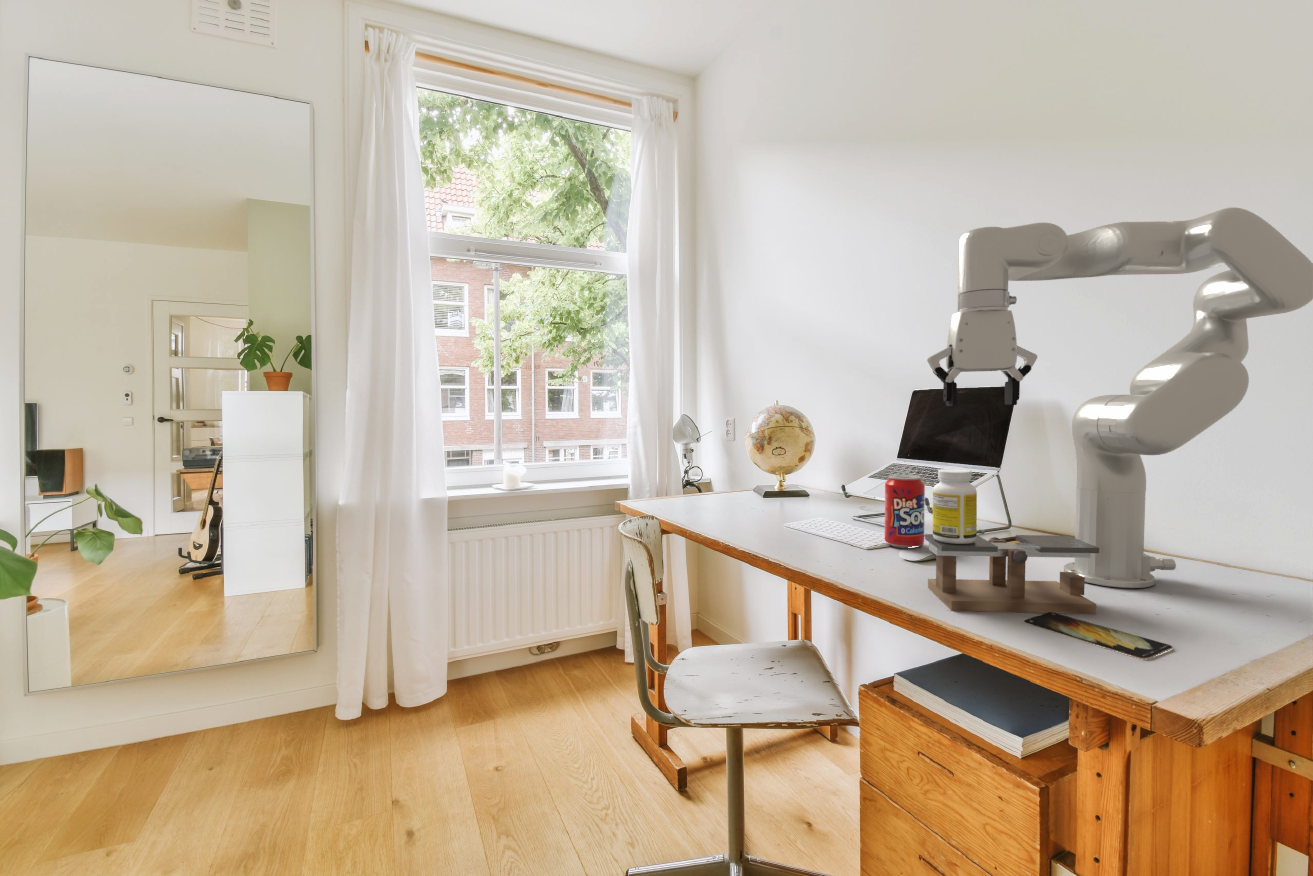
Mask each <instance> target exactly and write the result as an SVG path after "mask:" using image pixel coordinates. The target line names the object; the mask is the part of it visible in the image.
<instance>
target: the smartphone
mask: <svg viewBox="0 0 1313 876" xmlns="http://www.w3.org/2000/svg"><path fill="white" fill-rule="evenodd" d="M1023 623H1025V624H1028V625H1031V626H1033V627H1036V628H1037V627H1038V628H1041V629H1043V630H1046V631H1050V632H1052V633H1057V634H1059V635H1062V636H1065V637H1067V638H1068V637H1069V638H1072V639H1073V640H1077V641H1081V642H1083V643H1087V642H1088V643H1087V644H1090V643H1091V644H1090V645H1093V644H1095V645H1094V646H1096V645H1099V646H1101V647H1100V648H1102V647H1105V648H1104V649H1106V648H1108V649H1107V650H1109V649H1111V650H1110V651H1112V650H1114V651H1113V652H1115V651H1118V652H1121V653H1124V654H1127V655H1126V656H1128V655H1131V656H1133V657H1132V658H1134V657H1136V658H1135V659H1137V658H1139V659H1138V660H1140V659H1143V660H1142V661H1146V660H1145V659H1150V660H1152V659H1151V658H1153V657H1154V656H1156V655H1158V654H1161V653H1163V652H1165V651H1168V650H1170V649H1172V648H1174V647H1173V646H1172V645H1170V644H1169V643H1165V642H1164V643H1163V642H1160V641H1157V640H1153V639H1150V638H1146V637H1143V636H1140V635H1136V634H1133V633H1129V632H1124V631H1121V630H1118V629H1114V628H1110V627H1108V626H1107V627H1106V626H1103V625H1099V624H1096V623H1092V622H1089V621H1086V620H1082V619H1079V618H1075V617H1071V616H1067V615H1065V614H1062V613H1052V612H1049V613H1043V614H1039V615H1035V616H1033V617H1029V618H1027V619H1024V620H1023ZM1099 646H1098V647H1099ZM1118 652H1117V653H1118ZM1121 653H1120V654H1121ZM1124 654H1123V655H1124ZM1131 656H1130V657H1131ZM1153 659H1154V658H1153Z"/></svg>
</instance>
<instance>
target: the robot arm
mask: <svg viewBox="0 0 1313 876" xmlns="http://www.w3.org/2000/svg"><path fill="white" fill-rule="evenodd" d="M957 264H958V265H957V267H958V270H957V271H958V273H957V277H958V278H957V312H956V313H953V314H952V315H951V318H950V323H949V329H948V336H947V345H946V348H944V349H942V350H941V351H939V352H936V353H934V354H933V355H930V356H929V357H927V359H926V360H927V361H926V362H927V363H928V365H929V367H930V368H931V369H932V373H933V374H934V375H935V376H936V377H937V378H938V379H939V380H940V382H941V383H943V387H942V388H943V391H942V393H943V396H942V397H943V402H945V406H947V407H955V406H957V404H958V402H957V401H958V400H957V399H958V398H957V391H958V388H957V387H958V383H956V382H955V379H956V378H957V377H958V376H959V374H960V373H963V372H965V373H967V372H972V373H973V372H975V373H976V372H996V371H997V372H998V371H1000V372H1001V373H1002V375H1004V376H1005V377H1006V379H1007V381H1005V383H1004V405H1005V406H1017V404H1018V401H1019V399H1020V393H1021V392H1020V391H1021V390H1020V389H1021V387H1020V385H1021V382H1022V381H1023V380H1024V378H1025V377H1026V376H1027V375H1028V374H1029V373H1030V372H1031V371H1032V368H1033V367H1034V365H1035V363H1036V361H1037V359H1038V355H1037V354H1036V353H1034V352H1032V351H1029V350H1028V349H1026V348H1023V347H1021V346H1019V345H1018V342H1017V332H1016V325H1015V320H1014V315H1013V312H1012V310H1009V309H1008V308H1009V307H1010V306H1011V305H1016V304H1017V299H1018V298H1017V296H1014V295H1013V296H1012V295H1010V291H1009V282H1010V281H1011V282H1028V281H1029V282H1031V281H1035V282H1036V281H1037V282H1039V281H1053V280H1065V279H1067V280H1068V279H1083V278H1084V279H1085V278H1096V277H1098V278H1099V277H1106V276H1126V275H1127V276H1133V275H1138V276H1140V275H1181V274H1182V275H1183V274H1190V273H1196V272H1201V271H1204V270H1209V269H1212V268H1216V267H1220V266H1227V267H1228V268H1229V270H1225V271H1221V272H1218V273H1216V274H1215V275H1213V276H1211V277H1209V278H1207V279H1206V280H1205V281H1204V282H1202V283H1201V284H1200V285H1199V287H1198V288H1197V290H1196V292H1195V294H1194V296H1193V297H1194V298H1193V301H1192V303H1193V304H1192V305H1193V306H1192V307H1193V322H1192V323H1193V324H1192V327H1191V330H1190V331H1189V333H1188V334H1187V335H1186V336H1184V337H1183V338H1182V339H1181V340H1179V341H1178V342H1177V343H1175V344H1174V345H1173V346H1171V347H1169V348H1168V349H1167V350H1165V351H1163V353H1161V354H1160V355H1159V356H1157V357H1156V358H1154V359H1153V360H1152V361H1150V362H1149V363H1147V364H1146V365H1144V366H1142V368H1141V369H1140V370H1138V372H1137V373H1136V374H1135V375H1134V376H1133V378H1132V380H1131V381H1130V385H1129V394H1106V395H1099V396H1096V397H1093V398H1089V399H1088V400H1086V401H1084V402H1083V403H1082V404H1081V405H1080V406H1078V408H1077V409H1076V410H1075V412H1074V414H1073V417H1072V421H1071V431H1072V432H1071V433H1072V438H1073V439H1072V440H1073V444H1074V451H1075V454H1076V456H1075V457H1076V491H1075V492H1076V494H1075V496H1076V499H1075V527H1074V529H1075V531H1074V538H1076V539H1079V540H1081V541H1083V542H1086V543H1088V544H1091V545H1093V546H1096V547H1098V548H1099V553H1091V558H1074V562H1073V561H1072V562H1068V563H1066V564H1064V566H1063V572H1075V573H1077V574H1079V575H1080V576H1082V577H1084V578H1085V583H1088V584H1093V585H1098V586H1103V587H1111V588H1119V589H1121V588H1122V589H1145V588H1149V587H1152V586H1154V585H1155V583H1156V581H1155V580H1156V579H1155V575H1153V574H1151V572H1153V573H1154V572H1155V571H1156V570H1161V571H1175V570H1176V567H1177V563H1176V561H1175V560H1174V559H1173V558H1157V557H1156V556H1151V555H1148V554H1146V553H1144V550H1145V549H1144V548H1145V520H1146V518H1145V517H1146V491H1147V473H1146V469H1145V465H1144V461H1143V459H1142V457H1141V455H1142V456H1161V455H1165V454H1168V453H1172V452H1174V451H1175V450H1177V449H1179V448H1181V447H1182V446H1184V445H1186V444H1187V443H1189V442H1190V441H1191V440H1193V439H1194V438H1195V437H1197V436H1198V435H1200V434H1202V433H1203V432H1205V430H1208V428H1210V427H1211V426H1213V425H1214V424H1216V423H1217V422H1218V421H1220V420H1222V419H1223V418H1224V417H1226V416H1227V415H1228V414H1230V412H1231V413H1232V411H1233V410H1234V409H1236V408H1237V406H1239V405H1240V403H1242V402H1241V401H1242V400H1243V399H1244V397H1245V396H1246V394H1247V391H1248V388H1249V382H1250V381H1249V379H1250V377H1249V373H1248V370H1247V368H1246V366H1245V365H1244V363H1242V362H1243V361H1244V359H1245V358H1246V357H1247V354H1248V353H1249V335H1248V325H1247V319H1251V318H1259V317H1266V316H1273V315H1280V314H1286V313H1290V312H1293V311H1296V310H1299V309H1302V308H1303V307H1305V306H1306V305H1309V303H1310V302H1312V301H1313V262H1312V261H1311V259H1309V257H1307V256H1306V255H1305V254H1304V253H1303V252H1302V251H1301V250H1300V249H1298V247H1296V246H1295V244H1293V243H1292V242H1291V241H1289V240H1288V239H1287V238H1286V237H1285V236H1284V235H1283V234H1282V233H1281V232H1280V231H1279V230H1278V229H1276V228H1275V227H1274V226H1273V225H1272V224H1270V223H1269V222H1267V221H1266V220H1265V219H1263V218H1262V217H1260V215H1257V214H1255V213H1254V212H1253V211H1250V210H1248V209H1244V208H1240V207H1227V208H1226V207H1225V208H1222V209H1219V210H1216V211H1214V212H1211V213H1207V214H1205V215H1202V216H1200V217H1199V216H1198V217H1195V218H1193V219H1187V220H1169V221H1168V220H1167V221H1165V220H1163V221H1121V222H1120V221H1119V222H1114V223H1109V224H1105V225H1101V226H1097V227H1094V228H1090V229H1088V230H1083V231H1079V232H1075V233H1073V234H1067V233H1066V231H1065V230H1064V229H1063V228H1062V227H1061V226H1060V225H1057V224H1055V223H1051V222H1035V223H1030V224H1024V225H1017V226H1010V227H998V226H985V227H984V226H983V227H977V228H974V229H971V230H968V231H966V232H964V233H963V234H962V235H961V236H960V237H959V240H958V263H957ZM1018 357H1020V358H1021V359H1023V362H1022V364H1021V365H1020V366H1019V367H1018V368H1017V367H1016V366H1017V362H1018V361H1017V360H1018ZM943 359H945V366H946V369H947V370H945V369H944V368H943V367H942V366H941V363H940V361H941V360H943Z"/></svg>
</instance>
